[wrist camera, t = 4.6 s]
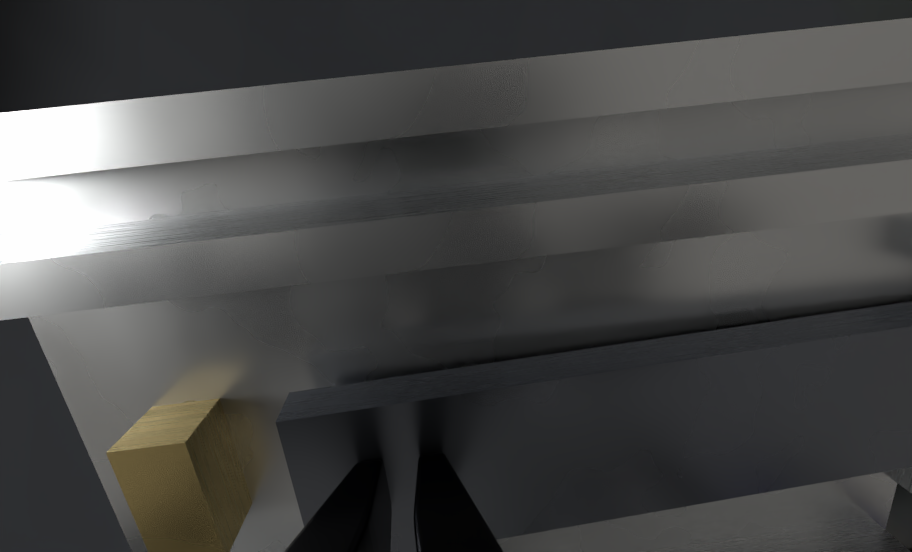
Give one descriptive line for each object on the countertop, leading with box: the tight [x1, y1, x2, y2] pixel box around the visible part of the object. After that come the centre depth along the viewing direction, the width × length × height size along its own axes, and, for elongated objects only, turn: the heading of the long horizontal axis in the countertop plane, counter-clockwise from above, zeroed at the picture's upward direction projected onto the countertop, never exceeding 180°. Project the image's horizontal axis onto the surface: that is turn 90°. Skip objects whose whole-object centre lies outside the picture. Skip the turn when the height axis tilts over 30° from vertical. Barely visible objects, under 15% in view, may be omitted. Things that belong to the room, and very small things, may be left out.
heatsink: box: [0, 18, 912, 552], centre depth 9 cm, size 12×18×6 cm, turn 96°
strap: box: [276, 301, 912, 552], centre depth 8 cm, size 3×14×1 cm, turn 96°
